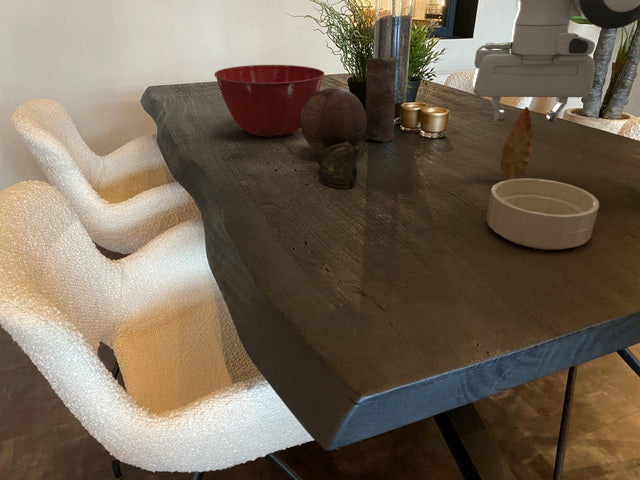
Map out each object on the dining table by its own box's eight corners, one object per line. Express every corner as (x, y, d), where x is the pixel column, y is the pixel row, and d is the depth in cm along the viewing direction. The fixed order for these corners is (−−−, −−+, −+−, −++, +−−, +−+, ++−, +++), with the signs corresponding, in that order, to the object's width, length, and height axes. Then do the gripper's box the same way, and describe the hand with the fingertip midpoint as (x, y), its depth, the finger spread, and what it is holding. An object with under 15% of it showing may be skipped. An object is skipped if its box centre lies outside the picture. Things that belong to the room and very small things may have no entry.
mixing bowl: (332, 119, 144) (332, 64, 136) (314, 148, 119) (313, 82, 112) (240, 116, 148) (235, 62, 141) (204, 143, 123) (196, 79, 116)
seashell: (366, 187, 95) (358, 153, 91) (321, 197, 96) (312, 164, 93) (361, 159, 109) (354, 129, 106) (322, 167, 110) (314, 138, 107)
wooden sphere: (375, 149, 118) (378, 85, 111) (348, 168, 106) (350, 97, 99) (320, 141, 124) (319, 80, 117) (289, 158, 112) (287, 91, 105)
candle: (359, 140, 124) (362, 57, 115) (369, 133, 130) (372, 54, 121) (388, 144, 121) (393, 59, 112) (397, 137, 127) (402, 55, 118)
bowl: (572, 213, 84) (581, 180, 82) (603, 256, 71) (614, 219, 68) (480, 208, 87) (485, 176, 84) (493, 249, 73) (500, 213, 70)
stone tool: (498, 183, 97) (512, 107, 90) (497, 179, 99) (509, 104, 92) (525, 184, 97) (541, 108, 90) (523, 180, 99) (538, 105, 92)
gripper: (478, 44, 85) (469, 124, 91) (605, 43, 82) (586, 125, 88) (474, 41, 90) (466, 116, 97) (593, 39, 87) (576, 117, 93)
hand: (524, 120), depth 92 cm, fingers open, 8 cm apart
